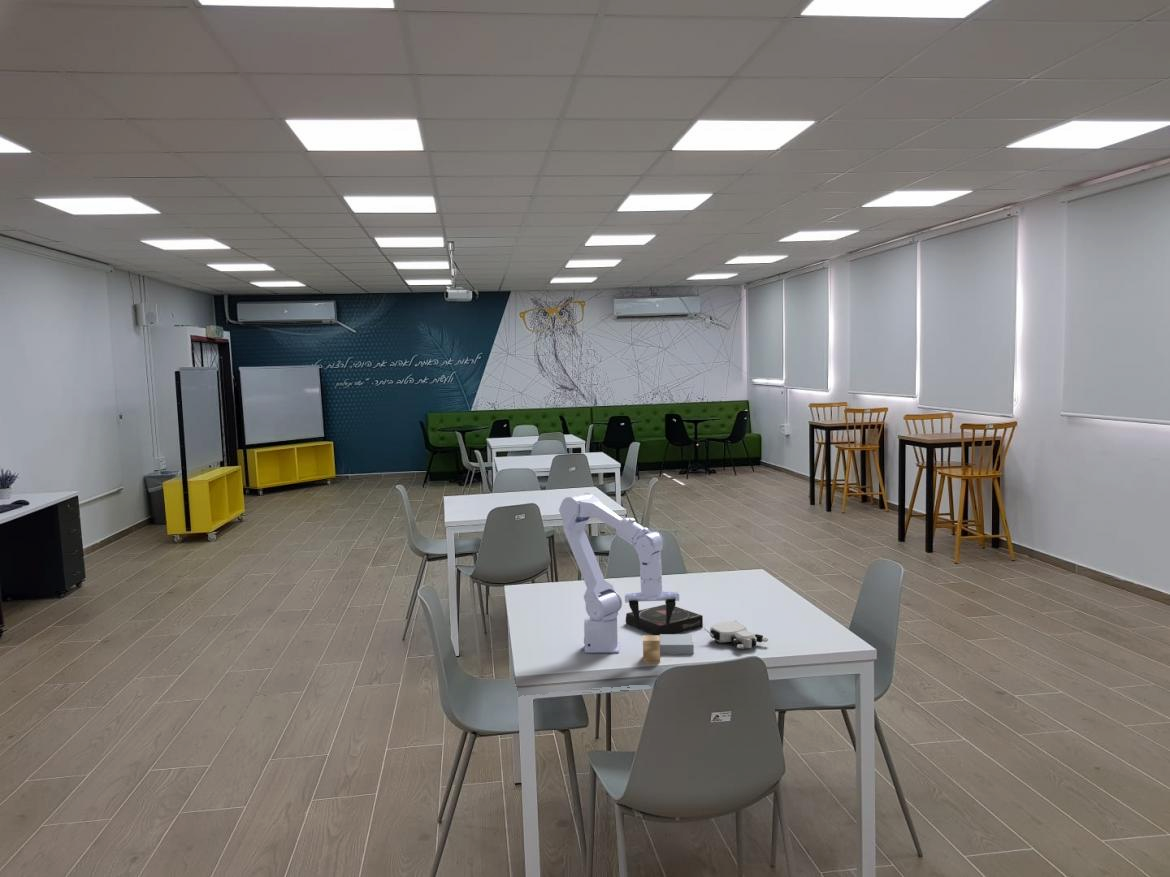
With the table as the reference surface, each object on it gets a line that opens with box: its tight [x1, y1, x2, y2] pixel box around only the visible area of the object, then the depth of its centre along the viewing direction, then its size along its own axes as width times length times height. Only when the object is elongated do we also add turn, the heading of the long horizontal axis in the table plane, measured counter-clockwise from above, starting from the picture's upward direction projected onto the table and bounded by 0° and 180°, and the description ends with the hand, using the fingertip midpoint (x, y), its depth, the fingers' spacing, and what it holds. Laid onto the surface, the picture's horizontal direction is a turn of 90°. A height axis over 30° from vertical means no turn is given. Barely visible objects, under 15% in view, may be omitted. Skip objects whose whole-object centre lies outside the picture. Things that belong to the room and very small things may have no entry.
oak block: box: [642, 634, 661, 664], centre depth 217 cm, size 4×4×6 cm
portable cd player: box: [625, 603, 704, 636], centre depth 247 cm, size 16×17×4 cm
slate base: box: [660, 633, 695, 655], centre depth 226 cm, size 9×9×3 cm
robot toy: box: [703, 620, 769, 650], centre depth 228 cm, size 12×4×15 cm
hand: (653, 627), depth 217 cm, fingers open, 7 cm apart
